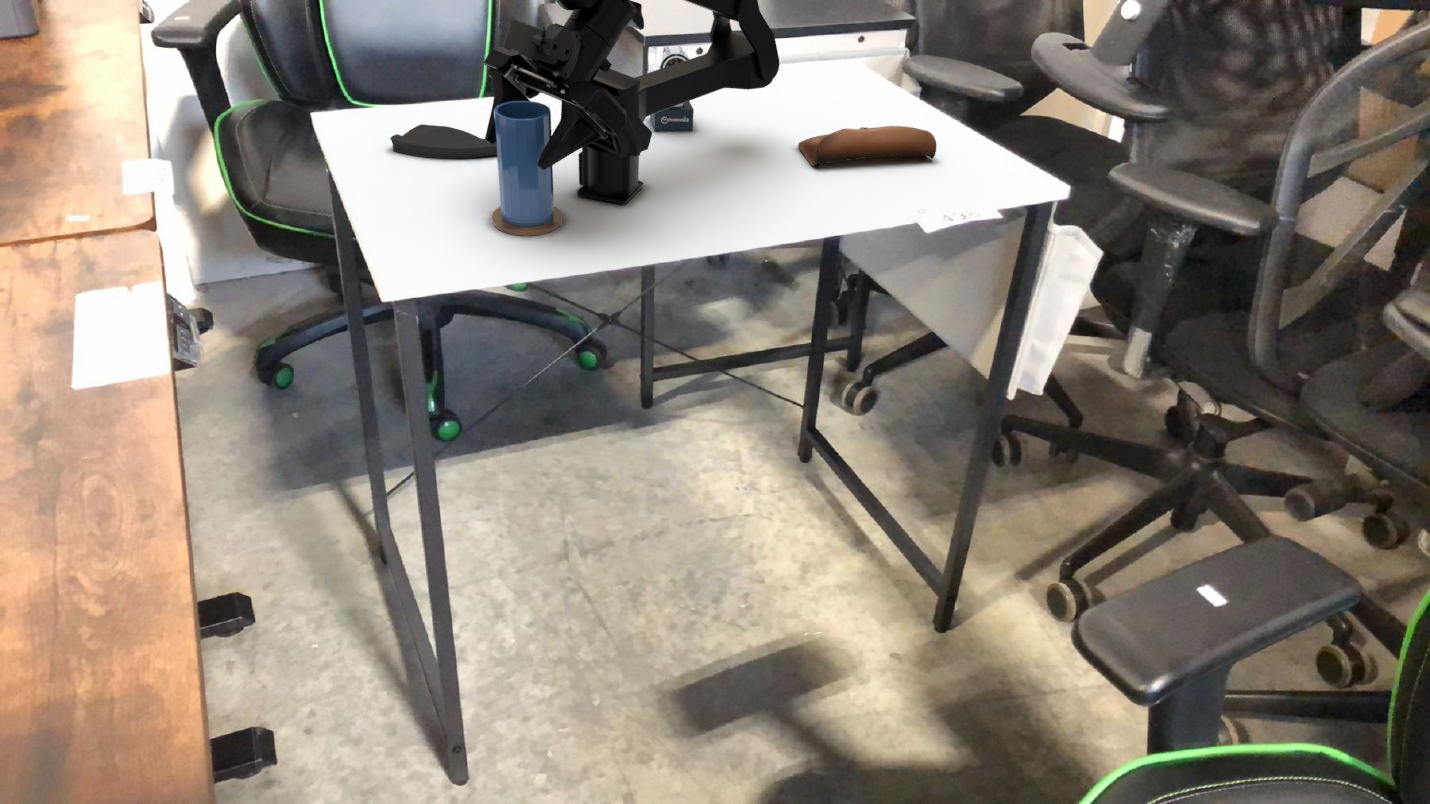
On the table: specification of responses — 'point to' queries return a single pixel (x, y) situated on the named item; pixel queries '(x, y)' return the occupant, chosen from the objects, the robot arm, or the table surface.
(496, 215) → the coaster
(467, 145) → the dark sector wedge
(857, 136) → the sunglasses case
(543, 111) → the pen cup
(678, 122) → the watch
